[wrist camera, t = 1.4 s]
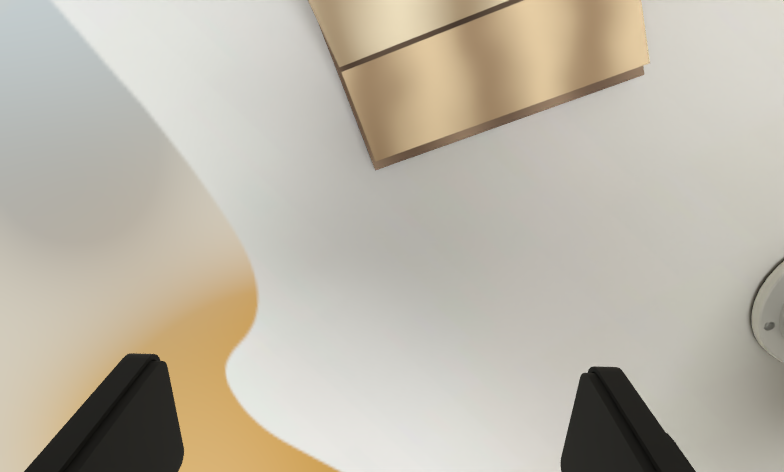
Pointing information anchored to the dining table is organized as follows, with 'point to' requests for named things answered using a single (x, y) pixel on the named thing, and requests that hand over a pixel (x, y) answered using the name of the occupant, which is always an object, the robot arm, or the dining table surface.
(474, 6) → the hinged plank
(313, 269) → the dining table surface
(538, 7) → the floor board
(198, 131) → the dining table surface
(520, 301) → the dining table surface
